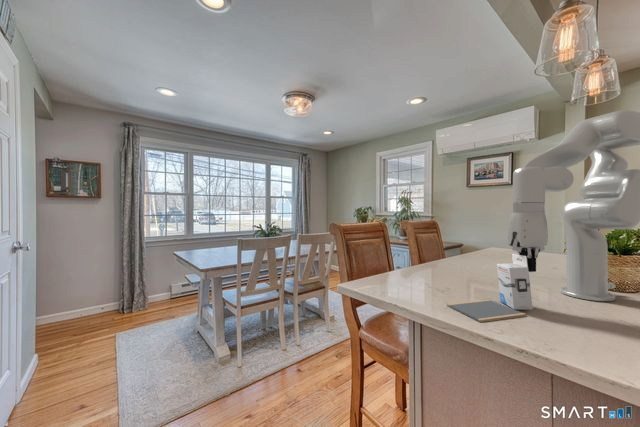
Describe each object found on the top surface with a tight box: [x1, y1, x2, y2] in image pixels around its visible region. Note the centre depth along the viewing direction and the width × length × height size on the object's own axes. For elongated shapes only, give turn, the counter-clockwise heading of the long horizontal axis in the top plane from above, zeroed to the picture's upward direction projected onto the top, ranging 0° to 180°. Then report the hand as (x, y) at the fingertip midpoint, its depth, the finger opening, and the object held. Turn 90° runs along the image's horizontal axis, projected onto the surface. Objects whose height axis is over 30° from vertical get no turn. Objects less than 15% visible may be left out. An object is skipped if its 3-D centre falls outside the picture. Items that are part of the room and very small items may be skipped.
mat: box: [446, 299, 527, 323], centre depth 76 cm, size 15×12×1 cm
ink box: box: [496, 253, 533, 310], centre depth 79 cm, size 9×5×15 cm, turn 168°
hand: (528, 270), depth 79 cm, fingers closed
